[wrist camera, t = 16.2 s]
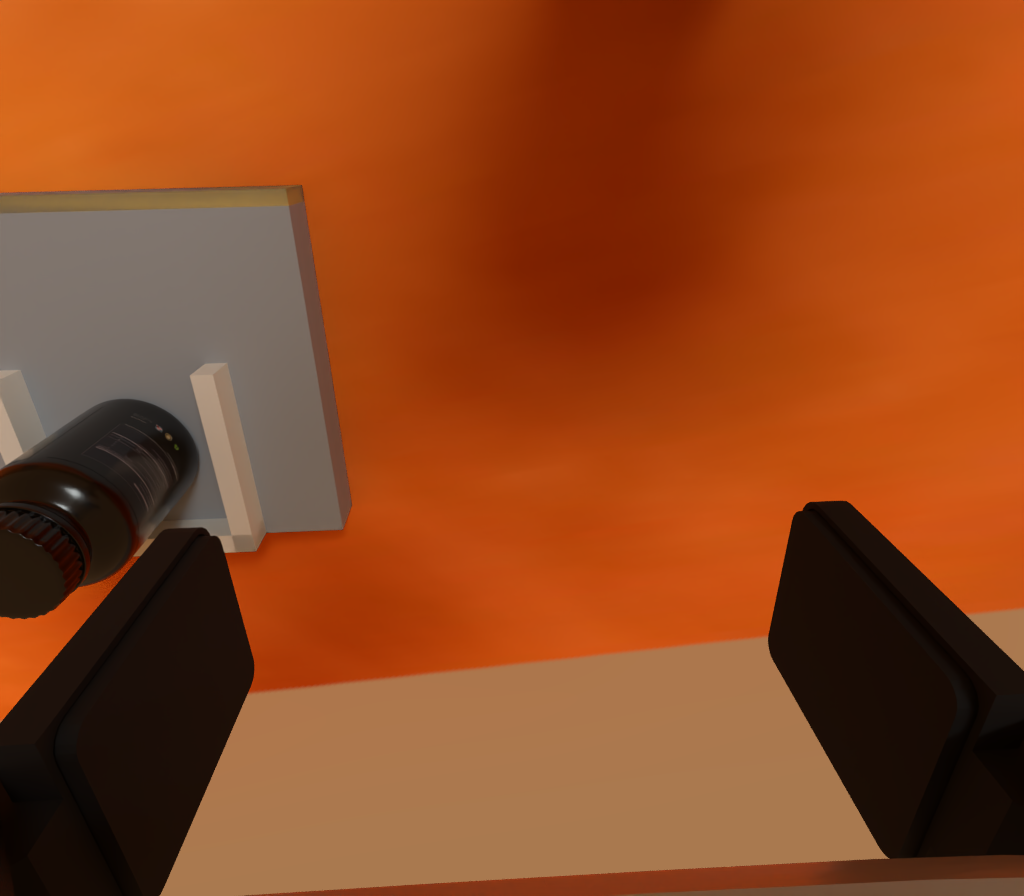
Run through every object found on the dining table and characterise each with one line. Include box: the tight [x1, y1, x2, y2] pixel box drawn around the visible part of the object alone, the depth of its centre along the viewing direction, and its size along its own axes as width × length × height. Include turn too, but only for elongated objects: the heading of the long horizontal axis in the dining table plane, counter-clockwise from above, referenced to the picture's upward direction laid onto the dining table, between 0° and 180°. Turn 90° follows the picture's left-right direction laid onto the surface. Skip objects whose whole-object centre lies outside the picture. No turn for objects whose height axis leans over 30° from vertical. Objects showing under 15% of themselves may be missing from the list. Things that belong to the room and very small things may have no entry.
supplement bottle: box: [0, 399, 199, 619], centre depth 31 cm, size 7×7×12 cm
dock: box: [0, 185, 352, 557], centre depth 35 cm, size 20×22×5 cm
